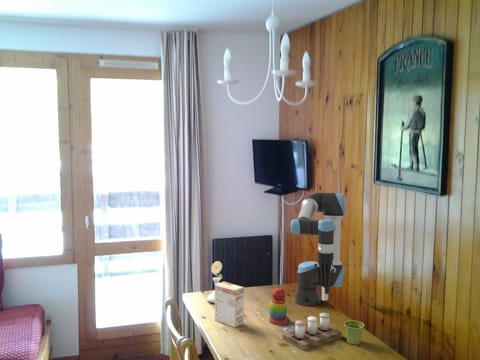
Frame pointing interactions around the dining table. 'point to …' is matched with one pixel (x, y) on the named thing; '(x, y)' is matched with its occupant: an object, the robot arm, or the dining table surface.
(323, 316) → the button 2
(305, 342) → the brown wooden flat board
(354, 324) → the plant pot
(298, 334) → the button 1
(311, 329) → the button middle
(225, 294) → the coffeecake box
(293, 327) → the card
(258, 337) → the dining table surface
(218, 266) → the flower in vase
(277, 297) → the stacking bear
